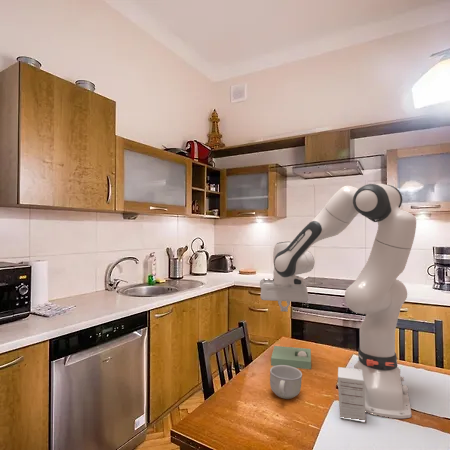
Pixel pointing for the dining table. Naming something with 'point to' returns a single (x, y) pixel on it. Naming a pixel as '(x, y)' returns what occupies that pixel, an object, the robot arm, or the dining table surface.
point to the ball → (302, 354)
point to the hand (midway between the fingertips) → (284, 311)
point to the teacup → (285, 381)
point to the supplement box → (351, 393)
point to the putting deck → (291, 357)
